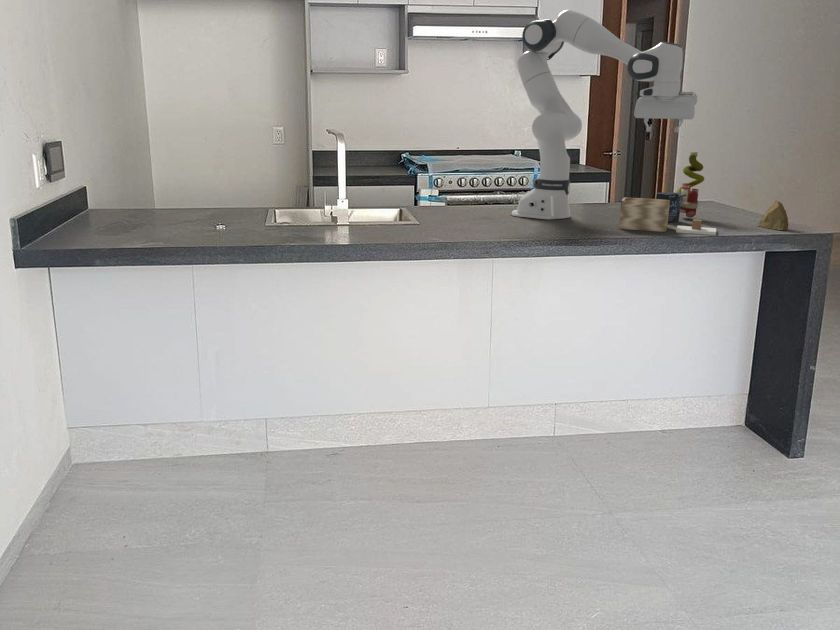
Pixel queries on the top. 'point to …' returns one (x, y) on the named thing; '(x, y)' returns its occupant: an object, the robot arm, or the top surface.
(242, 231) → the top surface
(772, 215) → the rock
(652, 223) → the birch box
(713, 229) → the lid
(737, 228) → the top surface
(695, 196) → the snake in a can
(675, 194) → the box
